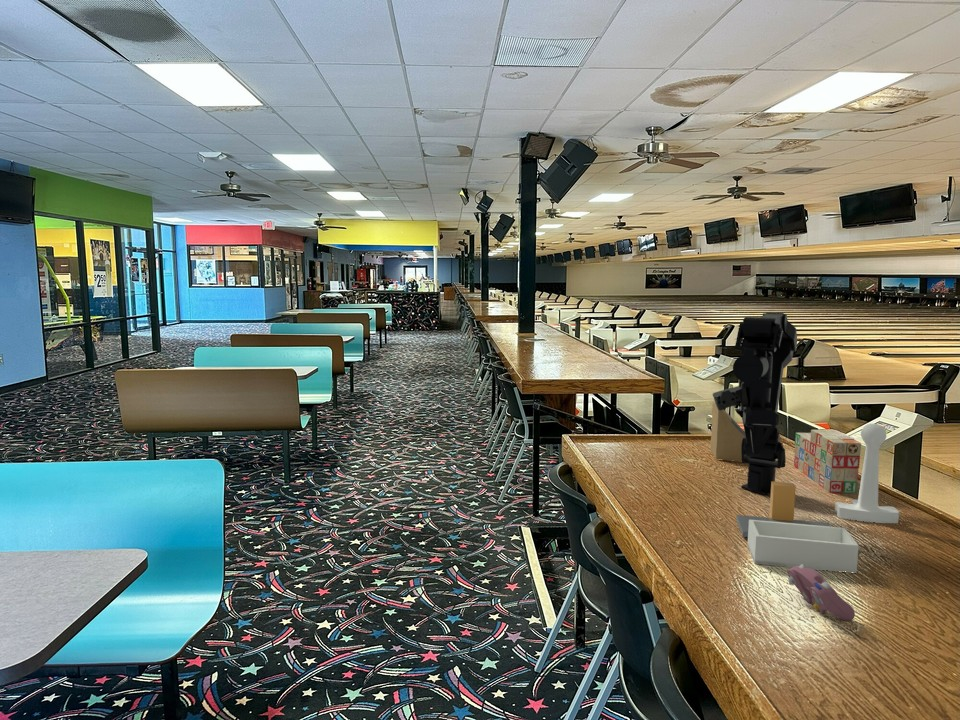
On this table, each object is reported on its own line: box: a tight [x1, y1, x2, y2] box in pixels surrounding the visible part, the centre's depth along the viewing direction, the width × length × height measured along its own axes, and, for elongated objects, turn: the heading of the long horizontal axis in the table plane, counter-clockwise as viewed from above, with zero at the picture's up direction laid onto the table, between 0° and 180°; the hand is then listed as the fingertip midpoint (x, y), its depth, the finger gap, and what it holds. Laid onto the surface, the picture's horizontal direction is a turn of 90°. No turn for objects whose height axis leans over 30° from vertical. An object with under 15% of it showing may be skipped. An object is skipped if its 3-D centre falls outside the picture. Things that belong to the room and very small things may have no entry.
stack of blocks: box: [793, 429, 862, 494], centre depth 160 cm, size 21×6×12 cm, turn 175°
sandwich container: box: [710, 401, 745, 462], centre depth 179 cm, size 9×15×15 cm, turn 81°
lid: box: [735, 481, 832, 538], centre depth 126 cm, size 11×17×9 cm, turn 76°
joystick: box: [834, 423, 900, 524], centre depth 135 cm, size 11×8×20 cm
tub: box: [747, 520, 860, 574], centre depth 115 cm, size 8×16×5 cm, turn 76°
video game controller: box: [786, 564, 856, 622], centre depth 99 cm, size 10×5×7 cm, turn 6°
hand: (752, 448), depth 140 cm, fingers open, 9 cm apart
